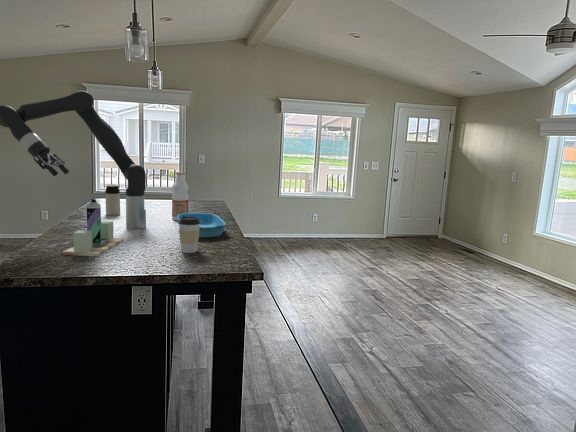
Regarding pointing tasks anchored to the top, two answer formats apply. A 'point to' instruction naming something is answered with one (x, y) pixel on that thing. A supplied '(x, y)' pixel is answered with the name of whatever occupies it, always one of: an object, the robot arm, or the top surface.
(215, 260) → the top surface
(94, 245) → the metal collar
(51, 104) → the robot arm
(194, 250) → the coffee cup
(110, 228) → the sage pillars
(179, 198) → the fruit juice
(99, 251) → the wooden board
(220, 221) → the casserole dish
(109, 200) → the travel mug
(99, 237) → the spray can
